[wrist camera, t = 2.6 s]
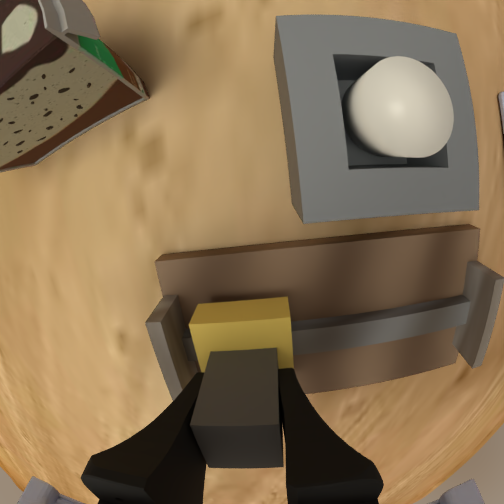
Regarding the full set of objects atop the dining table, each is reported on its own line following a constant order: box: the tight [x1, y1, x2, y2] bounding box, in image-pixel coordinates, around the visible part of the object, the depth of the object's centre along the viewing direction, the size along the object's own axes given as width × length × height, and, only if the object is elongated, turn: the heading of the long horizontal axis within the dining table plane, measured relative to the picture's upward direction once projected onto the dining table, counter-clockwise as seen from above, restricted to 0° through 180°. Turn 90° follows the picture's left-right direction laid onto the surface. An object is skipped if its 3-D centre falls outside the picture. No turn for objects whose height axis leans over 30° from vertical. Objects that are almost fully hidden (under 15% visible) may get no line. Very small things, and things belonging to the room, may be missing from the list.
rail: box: [145, 224, 504, 401], centre depth 15 cm, size 19×10×4 cm, turn 97°
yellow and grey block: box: [189, 296, 294, 468], centre depth 12 cm, size 4×6×7 cm
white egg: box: [341, 56, 454, 158], centre depth 9 cm, size 4×4×3 cm
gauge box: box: [274, 15, 479, 224], centre depth 11 cm, size 8×8×5 cm
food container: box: [0, 0, 150, 172], centre depth 9 cm, size 12×6×10 cm, turn 108°
